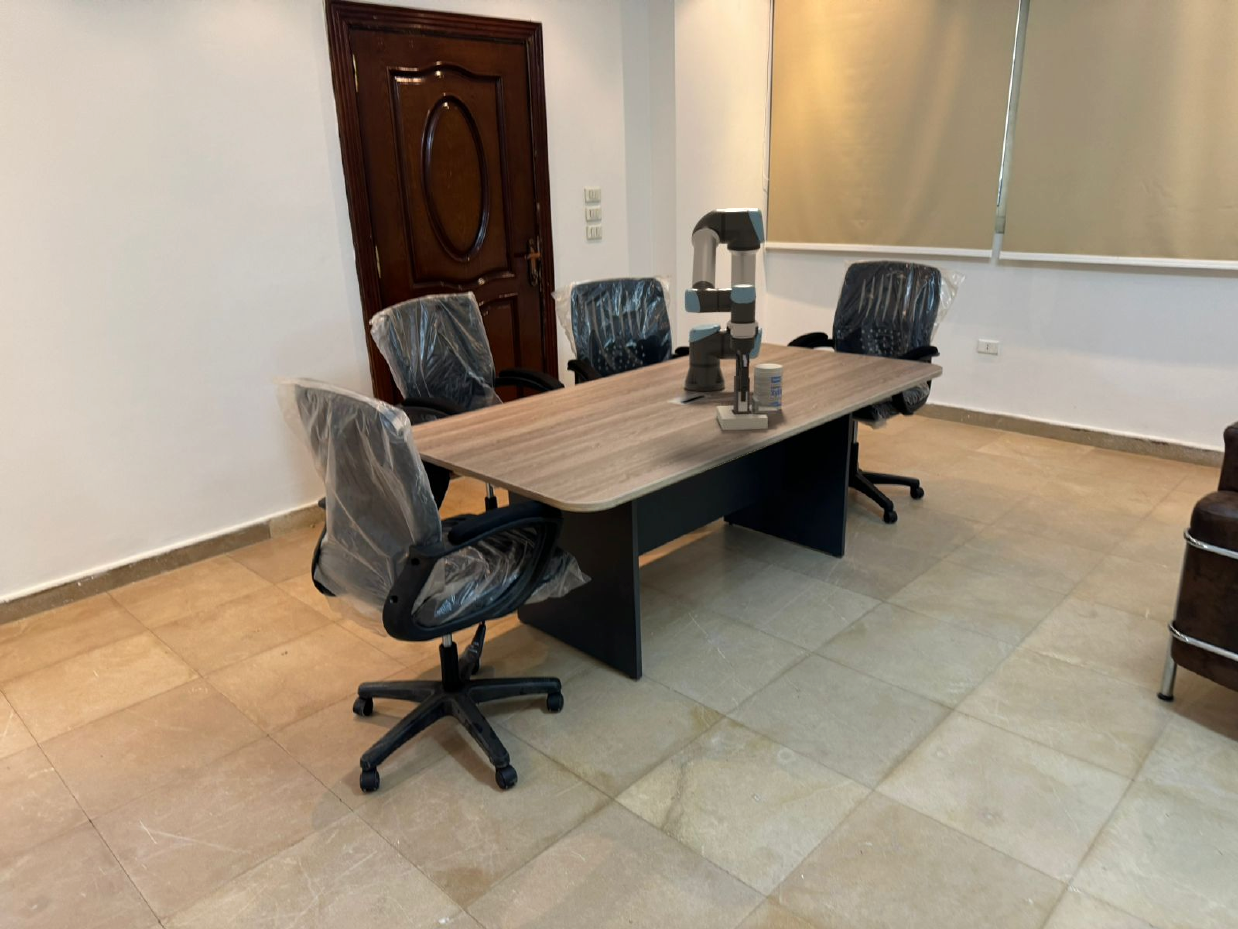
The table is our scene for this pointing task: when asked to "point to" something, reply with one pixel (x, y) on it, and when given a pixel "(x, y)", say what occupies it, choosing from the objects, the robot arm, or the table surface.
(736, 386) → the plug
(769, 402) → the supplement tub
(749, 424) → the socket plate
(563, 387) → the table surface
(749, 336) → the robot arm
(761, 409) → the plate
